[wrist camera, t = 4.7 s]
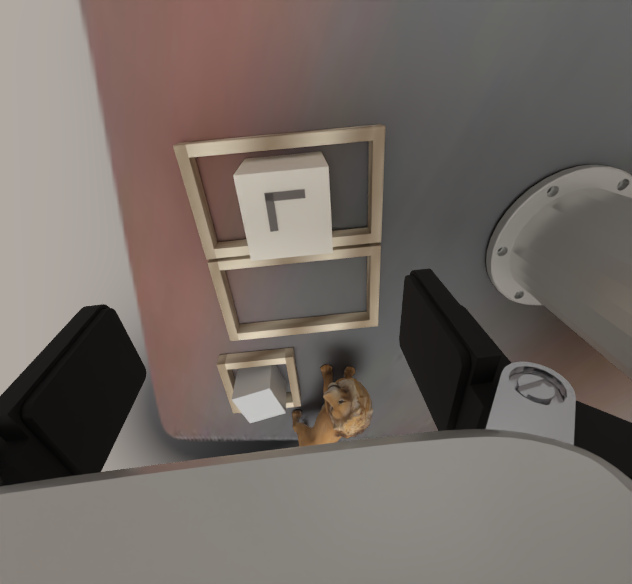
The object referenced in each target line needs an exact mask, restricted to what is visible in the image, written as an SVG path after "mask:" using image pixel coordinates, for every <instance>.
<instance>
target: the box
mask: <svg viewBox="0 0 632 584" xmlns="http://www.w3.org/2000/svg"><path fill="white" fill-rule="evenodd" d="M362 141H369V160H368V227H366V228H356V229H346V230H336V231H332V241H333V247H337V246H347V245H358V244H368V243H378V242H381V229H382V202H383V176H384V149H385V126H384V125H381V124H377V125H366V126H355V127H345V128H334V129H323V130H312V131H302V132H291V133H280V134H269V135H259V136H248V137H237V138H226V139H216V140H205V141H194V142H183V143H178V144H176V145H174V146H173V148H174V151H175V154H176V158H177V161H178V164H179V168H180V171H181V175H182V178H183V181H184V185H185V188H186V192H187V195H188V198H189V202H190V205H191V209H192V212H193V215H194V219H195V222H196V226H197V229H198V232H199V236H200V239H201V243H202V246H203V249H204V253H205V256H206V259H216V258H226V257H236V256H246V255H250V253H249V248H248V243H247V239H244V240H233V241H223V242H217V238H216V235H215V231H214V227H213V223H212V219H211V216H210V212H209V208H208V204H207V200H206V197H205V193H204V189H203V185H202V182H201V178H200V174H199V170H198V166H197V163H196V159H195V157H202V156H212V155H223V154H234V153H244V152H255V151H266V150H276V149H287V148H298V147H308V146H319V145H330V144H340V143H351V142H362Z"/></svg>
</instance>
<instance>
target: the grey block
mask: <svg viewBox="0 0 632 584" xmlns="http://www.w3.org/2000/svg"><path fill="white" fill-rule="evenodd" d="M286 384H287V383H286V381H285V380H284V378H283V376H282V375H281V373H280V371H279V370H278V368H277V366H276V365H268V366H258V367H248V368H241V369H238V370H237V375H236V380H235V385H234V390H233V395H232V401H233V402H234V404H235V405H236V406H237V407H238V409H239V410H240V411H241V412H242V414H243V415H244V416H245V418H246V419H247V420H248V421H249V423H253V422H256V421H260V420H263V419H267V418H270V417H273V416H277V415H280V414H284V413H286Z"/></svg>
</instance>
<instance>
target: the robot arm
mask: <svg viewBox="0 0 632 584" xmlns="http://www.w3.org/2000/svg"><path fill="white" fill-rule="evenodd" d="M486 266H487V273H488V276H489V278H490V280H491V283H492V284H493V285H494V286H495V287H496V289H497V290H498V291H499V292H500V293H502V294H503V295H504V296H505V297H506V298H508V299H510V300H511V301H513V302H517V303H520V304H524V305H543V306H545V307H546V308H547V309H548V310H549V311H551V312H552V313H553V314H554V315H555V316H556V317H558V318H559V319H560V320H561V321H562V322H564V323H565V324H566V325H567V326H568V327H569V328H571V329H572V330H573V331H574V332H575V333H576V334H578V335H579V336H580V337H581V338H582V339H584V340H585V341H586V342H587V343H588V344H589V345H591V346H592V347H593V348H594V349H595V350H597V351H598V352H599V353H600V354H601V355H602V356H604V357H605V358H606V359H607V360H608V361H610V362H611V363H612V364H613V365H614V366H615V367H617V368H618V369H619V370H620V371H621V372H623V373H624V374H625V375H626V376H627V377H628V378H630V379H631V380H632V175H630V174H629V173H627V172H625V171H624V170H620V169H617V168H613V167H609V166H603V165H595V164H593V165H583V166H577V167H573V168H570V169H566V170H563V171H560V172H558V173H556V174H554V175H552V176H549V177H547V178H545V179H544V180H542V181H541V182H539V183H538V184H536V185H535V186H533V187H531V188H530V189H529V190H528V191H527V192H525V193H524V194H523V195H522V196H521V197H520V198H518V199H517V200H516V201H515V203H514V204H513V205H512V206H511V207H510V208H509V209H508V210H507V211H506V213H505V214H504V216H503V217H502V219H501V220H500V221H499V223H498V224H497V226H496V228H495V230H494V232H493V234H492V237H491V239H490V242H489V246H488V249H487V257H486ZM399 341H400V347H401V350H402V352H403V354H404V356H405V358H406V361H407V363H408V365H409V367H410V369H411V371H412V374H413V376H414V378H415V380H416V382H417V385H418V387H419V389H420V391H421V393H422V396H423V398H424V400H425V402H426V404H427V407H428V409H429V411H430V413H431V415H432V418H433V420H434V422H435V424H436V426H437V429H438V431H434V432H424V433H414V434H405V435H395V436H386V437H376V438H368V439H360V440H352V441H343V442H335V443H327V444H319V445H310V446H302V447H294V448H286V449H278V450H269V451H261V452H254V453H246V454H238V455H230V456H222V457H214V458H206V459H198V460H191V461H182V462H175V463H167V464H160V465H151V466H144V467H137V468H129V469H121V470H114V471H106V472H101V470H102V468H103V466H104V464H105V462H106V460H107V458H108V456H109V454H110V451H111V449H112V447H113V445H114V443H115V441H116V439H117V437H118V435H119V433H120V431H121V428H122V426H123V424H124V422H125V420H126V418H127V416H128V414H129V412H130V410H131V408H132V405H133V404H134V401H135V399H136V397H137V395H138V393H139V391H140V389H141V387H142V385H143V383H144V381H145V378H146V369H145V366H144V364H143V363H142V361H141V359H140V357H139V355H138V353H137V351H136V349H135V347H134V345H133V343H132V341H131V340H130V338H129V336H128V334H127V332H126V330H125V328H124V326H123V324H122V322H121V321H120V319H119V317H118V315H117V313H116V311H115V310H114V309H112V308H109V307H108V306H107V305H94V306H86V307H83V308H82V309H81V310H80V311H79V312H78V313H77V314H76V315H75V316H74V317H73V318H72V319H71V321H70V322H69V323H68V324H67V325H66V326H65V327H64V328H63V329H62V330H61V331H60V332H59V333H58V335H57V336H56V337H55V338H54V339H53V340H52V341H51V342H50V343H49V344H48V346H46V348H45V349H44V350H43V351H42V352H41V353H40V354H39V355H38V356H37V357H36V358H35V359H34V361H33V362H32V363H31V364H30V365H29V366H28V367H27V368H26V369H25V370H24V371H23V372H22V374H20V376H19V377H18V378H17V379H16V380H15V381H14V382H13V383H12V384H11V385H10V386H9V388H8V389H7V390H6V391H5V392H4V393H3V394H2V395H1V396H0V584H632V423H631V422H628V421H626V420H623V419H621V418H618V417H616V416H613V415H611V414H608V413H606V412H603V411H601V410H598V409H596V408H593V407H591V406H589V405H586V404H584V403H581V402H579V401H576V397H575V392H574V389H573V388H572V386H571V385H570V383H569V382H568V381H567V380H566V379H565V378H564V377H562V376H561V375H560V374H558V373H557V372H555V371H553V370H552V369H550V368H547V367H545V366H543V365H540V364H536V363H531V362H515V363H511V362H510V361H509V360H508V358H507V357H506V356H505V355H504V354H503V352H502V351H501V350H500V349H499V348H498V346H497V345H496V344H495V343H494V342H493V341H492V339H491V338H490V337H489V336H488V335H487V333H486V332H485V331H484V330H483V329H482V327H481V326H480V325H479V324H478V323H477V321H476V320H475V319H474V318H473V317H472V315H471V314H470V313H469V312H468V311H467V309H466V308H465V307H463V306H462V305H460V304H459V303H458V302H457V300H456V299H455V298H454V297H453V296H452V294H451V293H450V292H449V291H448V290H447V288H446V287H445V286H444V285H443V283H442V282H441V281H440V280H439V279H438V277H437V276H436V275H435V274H434V272H433V271H432V270H431V269H421V270H412V271H411V273H410V275H407V276H405V280H404V292H403V303H402V314H401V325H400V336H399Z"/></svg>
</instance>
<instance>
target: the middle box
mask: <svg viewBox="0 0 632 584" xmlns="http://www.w3.org/2000/svg"><path fill="white" fill-rule="evenodd" d="M361 256H367V311H365V312H355V313H346V314H336V315H326V316H316V317H306V318H297V319H287V320H277V321H267V322H257V323H247V324H239V321H238V318H237V314H236V310H235V306H234V303H233V299H232V295H231V291H230V287H229V284H228V280H227V276H226V272H225V270H230V269H240V268H250V267H260V266H270V265H280V264H291V263H301V262H311V261H321V260H331V259H341V258H351V257H361ZM380 256H381V245H380V243H379V242H378V243H368V244H358V245H347V246H337V247H333V253H327V254H317V255H307V256H297V257H287V258H277V259H266V260H256V261H251V258H250V255H246V256H236V257H226V258H216V259H209V261H208V266H209V270H210V273H211V277H212V280H213V283H214V287H215V290H216V294H217V297H218V300H219V304H220V307H221V311H222V314H223V317H224V321H225V324H226V328H227V331H228V334H229V338H230V341H236V340H246V339H256V338H265V337H275V336H285V335H295V334H304V333H314V332H324V331H334V330H343V329H353V328H363V327H373V326H378V309H379V282H380Z"/></svg>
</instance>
